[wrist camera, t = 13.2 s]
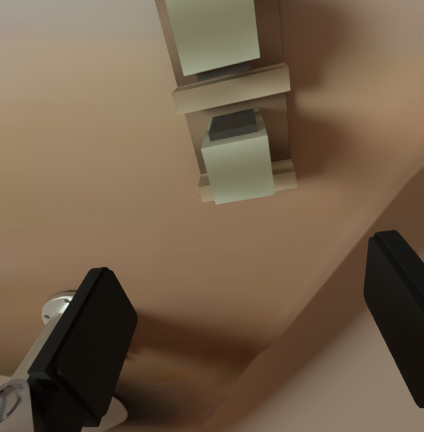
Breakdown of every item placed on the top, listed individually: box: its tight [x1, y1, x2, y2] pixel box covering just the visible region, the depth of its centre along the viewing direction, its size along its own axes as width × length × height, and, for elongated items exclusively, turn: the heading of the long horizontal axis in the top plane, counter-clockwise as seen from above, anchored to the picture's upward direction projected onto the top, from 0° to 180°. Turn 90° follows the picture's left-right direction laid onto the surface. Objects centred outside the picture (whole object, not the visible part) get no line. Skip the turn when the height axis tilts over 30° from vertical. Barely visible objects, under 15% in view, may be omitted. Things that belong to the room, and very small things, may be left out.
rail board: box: [155, 0, 297, 202], centre depth 19 cm, size 16×8×8 cm, turn 13°
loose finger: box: [201, 108, 275, 204], centre depth 20 cm, size 4×4×7 cm
